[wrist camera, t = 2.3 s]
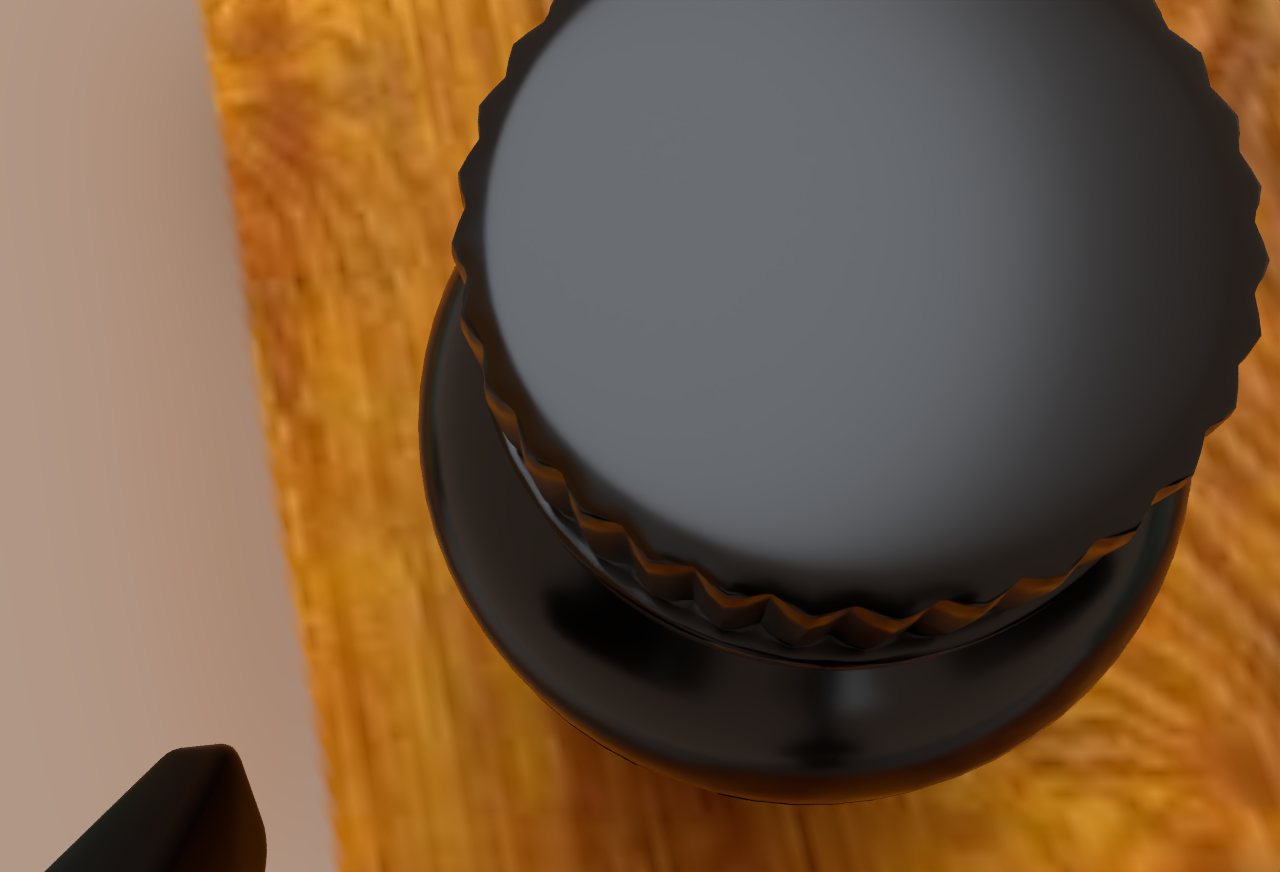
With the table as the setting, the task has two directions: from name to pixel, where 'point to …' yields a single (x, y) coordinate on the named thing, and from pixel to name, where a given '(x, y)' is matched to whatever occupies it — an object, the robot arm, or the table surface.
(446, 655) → the table surface
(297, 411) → the table surface
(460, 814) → the table surface
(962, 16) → the supplement bottle
